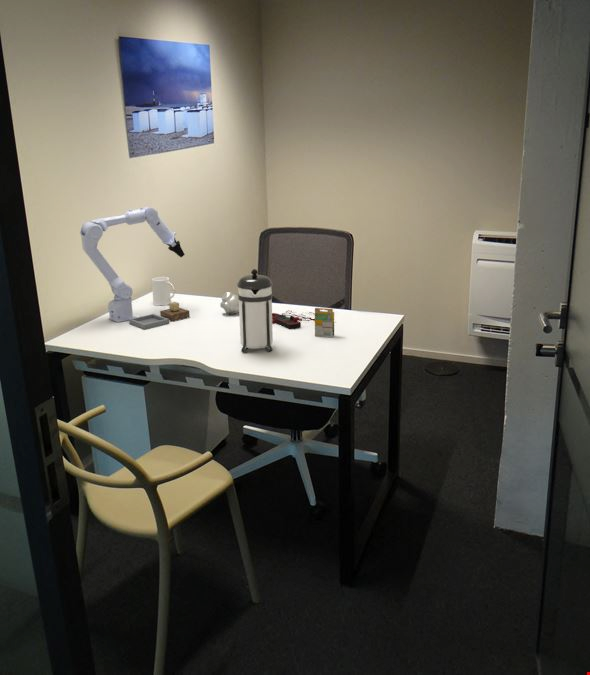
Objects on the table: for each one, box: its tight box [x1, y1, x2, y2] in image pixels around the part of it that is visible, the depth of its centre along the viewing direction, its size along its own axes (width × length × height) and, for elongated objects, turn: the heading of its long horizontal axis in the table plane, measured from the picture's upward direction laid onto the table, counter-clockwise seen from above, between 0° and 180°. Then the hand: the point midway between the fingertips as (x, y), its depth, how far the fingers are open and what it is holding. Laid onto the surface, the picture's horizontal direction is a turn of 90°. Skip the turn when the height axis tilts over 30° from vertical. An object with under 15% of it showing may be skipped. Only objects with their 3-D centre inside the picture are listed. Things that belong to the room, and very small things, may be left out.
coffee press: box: [236, 268, 274, 354], centre depth 249 cm, size 17×16×30 cm
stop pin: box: [168, 301, 180, 312], centre depth 293 cm, size 3×3×6 cm
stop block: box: [159, 307, 191, 322], centre depth 293 cm, size 9×9×3 cm
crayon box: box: [314, 307, 335, 338], centre depth 264 cm, size 7×3×12 cm, turn 74°
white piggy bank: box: [219, 291, 239, 315], centre depth 297 cm, size 9×10×10 cm
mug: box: [151, 276, 176, 306], centre depth 314 cm, size 12×8×12 cm
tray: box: [128, 313, 170, 330], centre depth 285 cm, size 12×12×2 cm
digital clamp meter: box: [272, 310, 315, 330], centre depth 287 cm, size 23×4×25 cm
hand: (180, 253), depth 300 cm, fingers open, 7 cm apart
